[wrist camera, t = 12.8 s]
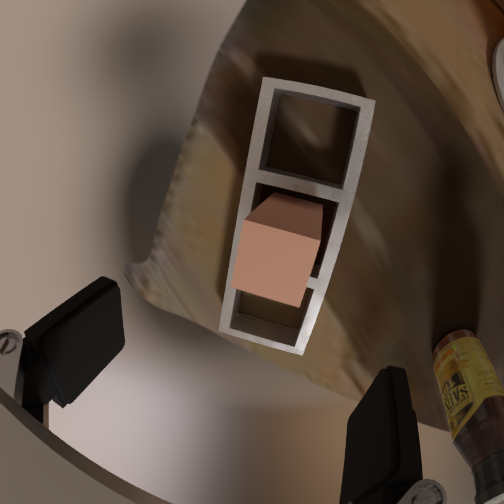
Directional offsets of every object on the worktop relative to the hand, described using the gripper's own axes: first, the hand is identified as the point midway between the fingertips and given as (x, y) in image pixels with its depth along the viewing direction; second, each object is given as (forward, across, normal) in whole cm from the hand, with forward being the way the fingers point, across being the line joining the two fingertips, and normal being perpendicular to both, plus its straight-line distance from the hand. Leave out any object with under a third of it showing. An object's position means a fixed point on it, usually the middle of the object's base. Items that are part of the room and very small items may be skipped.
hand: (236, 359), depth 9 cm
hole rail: (+18, +1, +1) cm, 18 cm away
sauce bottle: (+19, -21, +10) cm, 30 cm away
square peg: (+18, +1, 0) cm, 18 cm away
